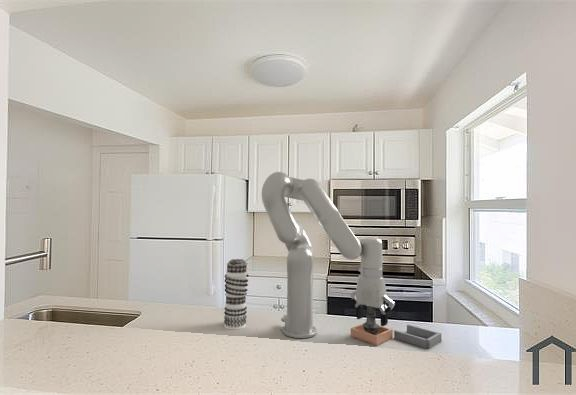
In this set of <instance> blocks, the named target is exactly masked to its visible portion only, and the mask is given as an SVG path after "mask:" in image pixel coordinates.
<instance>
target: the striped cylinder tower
mask: <svg viewBox="0 0 576 395" xmlns="http://www.w3.org/2000/svg"><path fill="white" fill-rule="evenodd" d="M247 265H248V263H247V261H246V260H244V259H243V258H241V259H239V258H235V259H234V258H233V259H230V260H229V261H228V262H227V263H226V273H225V274H224V278H225V279H224V283H225V284H224V292H225V293H224V295H225V302H224V303H225V305H224V306H225V307H224V310H225V311H224V313H223V314H224V316H223V319H224V320H223V323H224V325H223V327H224V328H225V329H227V330H235V331H236V330H240V329H241V330H242V329H244V328H246V327H245V326H247V315H246V314H247V308H248V307H247V302H246V299H247V298H246V296H247V295H248V288H247V287H248V286H249V284H248V282H249V279H247V278H248V277H249V274H248V271H247V270H248V269H247V268H248V267H247Z"/></svg>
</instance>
